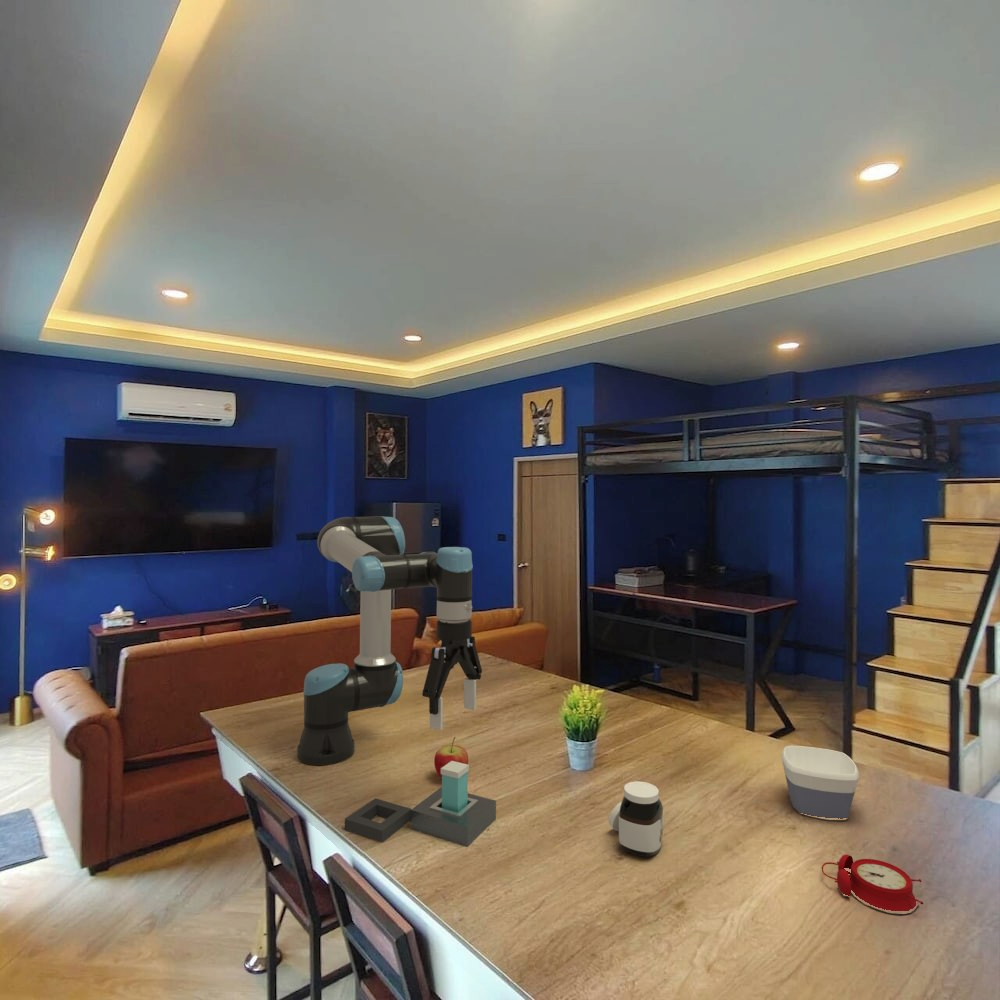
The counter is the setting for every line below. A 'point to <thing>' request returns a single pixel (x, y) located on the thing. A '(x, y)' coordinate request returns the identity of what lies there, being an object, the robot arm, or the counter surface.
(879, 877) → the alarm clock
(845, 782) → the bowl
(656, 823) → the spread jar
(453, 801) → the plug
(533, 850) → the counter surface
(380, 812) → the dark grey square frame
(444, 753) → the apple
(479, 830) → the port
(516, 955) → the counter surface
